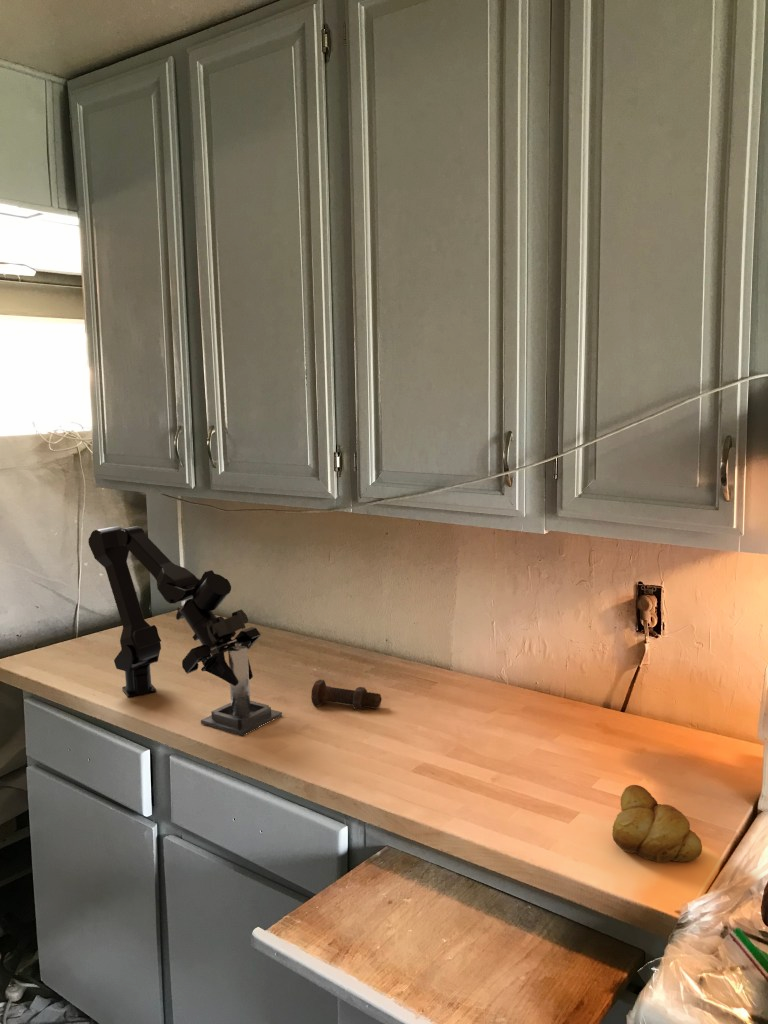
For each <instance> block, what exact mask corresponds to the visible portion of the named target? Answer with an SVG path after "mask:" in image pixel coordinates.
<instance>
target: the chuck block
mask: <svg viewBox="0 0 768 1024" xmlns="http://www.w3.org/2000/svg"><path fill="white" fill-rule="evenodd" d="M250 708H251V712H250V713H249V714H248V715H245V716H234V715H232V712H231V702H230V703H227V704H224V705H222V706H220V707H218V708H215V709H214V710H212V711H211V715H209V716H207V717H206V716H205V718H202V719H201V720H200V724H201V725H204V726H207V727H208V726H209V727H211V728H215V729H218V730H221V731H225V732H227V733H231V734H234V733H235V734H234V735H237V734H238V736H241V737H243V736H245V735H247V734H249V733H251V732H253V731H255V730H257V729H259V728H260V727H259V726H261V725H263V724H265V723H267V722H269V721H271V722H272V720H273V719H275V720H276V718H277V719H279V718H280V716H281V717H283V712H282V711H278V710H274V709H272V707H271V706H269V704H266V703H261V702H257V701H254V700H250ZM278 717H279V718H278ZM273 721H274V720H273ZM269 723H270V722H269ZM267 724H268V723H267ZM265 725H266V724H265ZM263 726H264V725H263ZM258 727H259V728H258ZM261 727H262V726H261ZM256 728H257V729H256ZM254 729H255V730H254ZM252 730H253V731H252ZM250 731H251V732H250ZM248 732H249V733H248ZM246 733H247V734H246Z"/></svg>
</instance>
